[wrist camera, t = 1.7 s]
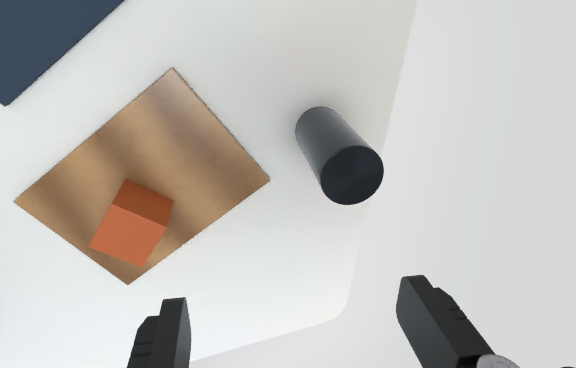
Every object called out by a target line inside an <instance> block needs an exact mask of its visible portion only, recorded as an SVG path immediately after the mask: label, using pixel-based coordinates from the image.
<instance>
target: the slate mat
mask: <svg viewBox="0 0 576 368" xmlns="http://www.w3.org/2000/svg"><path fill="white" fill-rule="evenodd" d="M123 1H124V0H0V103H1V104H2V105H3V106H7V105H9V104H10V103H11V102H12V101H13V100H14V99H15V98H17V97H18V96H19V95H20V94H21V93H22V92H23V91H24V90H25V89H26V88H28V87H29V86H30V85H31V84H32V83H33V82H34V81H35V80H36V79H38V78H39V77H40V76H41V75H42V74H43V73H44V72H45V71H46V70H47V69H49V68H50V67H51V66H52V65H53V64H54V63H55V62H56V61H57V60H59V59H60V58H61V57H62V56H63V55H64V54H65V53H66V52H67V51H69V50H70V49H71V48H72V47H73V46H74V45H75V44H76V43H77V42H78V41H80V40H81V39H82V38H83V37H84V36H85V35H86V34H87V33H88V32H90V31H91V30H92V29H93V28H94V27H95V26H96V25H97V24H98V23H99V22H101V21H102V20H103V19H104V18H105V17H106V16H107V15H108V14H109V13H111V12H112V11H113V10H114V9H115V8H116V7H117V6H118V5H119V4H121V3H122V2H123Z"/></svg>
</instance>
